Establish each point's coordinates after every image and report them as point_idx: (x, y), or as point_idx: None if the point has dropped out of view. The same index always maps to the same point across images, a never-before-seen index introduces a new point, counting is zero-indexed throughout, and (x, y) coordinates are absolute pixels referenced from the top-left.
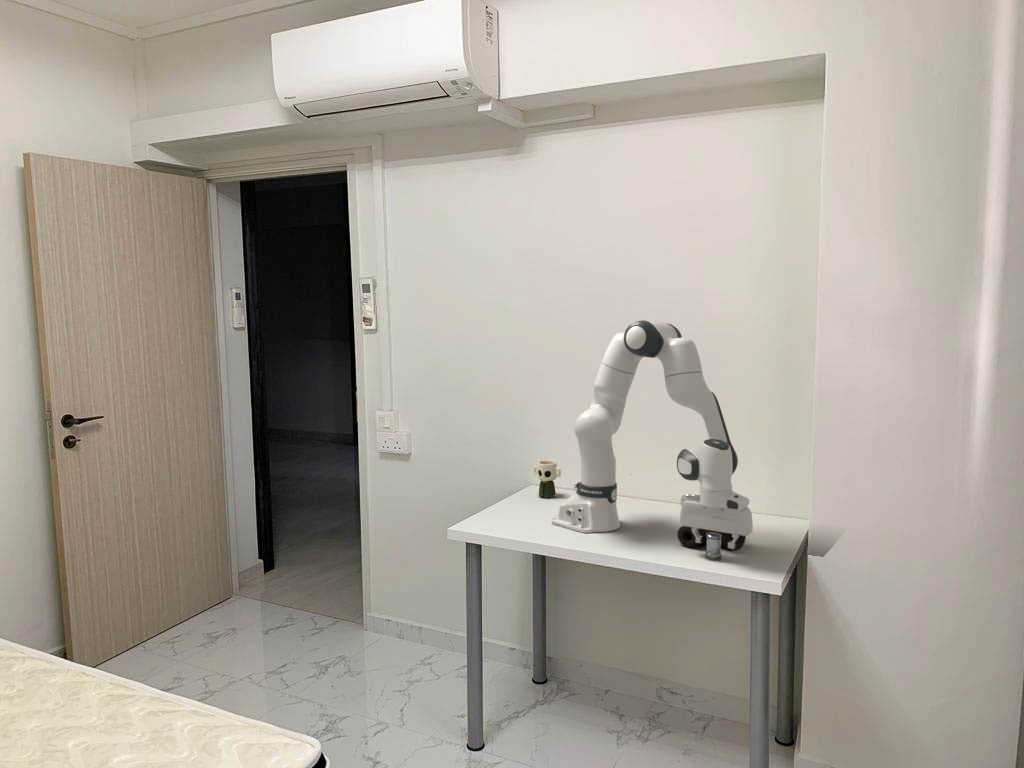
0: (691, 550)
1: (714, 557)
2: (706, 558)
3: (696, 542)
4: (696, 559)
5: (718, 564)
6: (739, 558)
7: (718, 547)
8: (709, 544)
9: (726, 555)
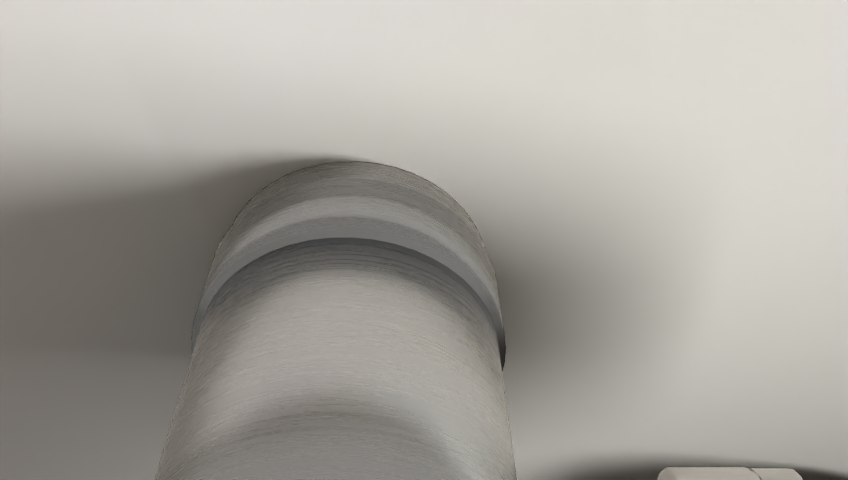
0: (784, 422)
1: (276, 209)
2: (463, 211)
3: (772, 469)
4: (638, 80)
5: (123, 19)
6: (7, 441)
7: (177, 422)
8: (391, 416)
9: None
